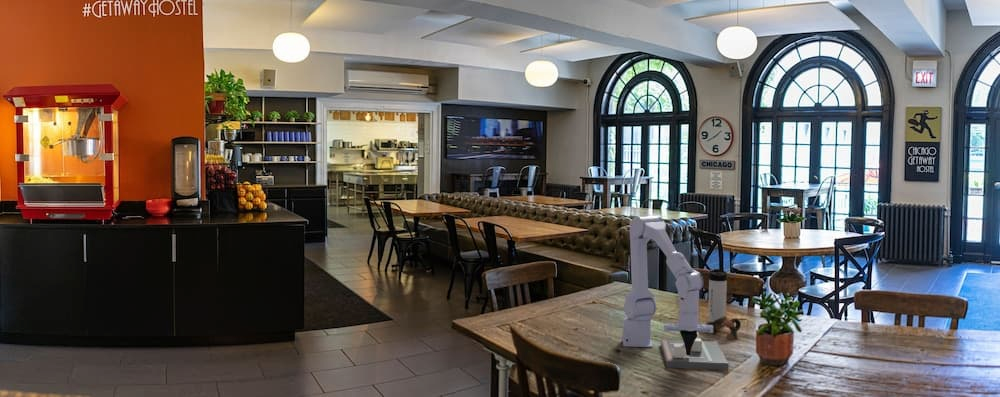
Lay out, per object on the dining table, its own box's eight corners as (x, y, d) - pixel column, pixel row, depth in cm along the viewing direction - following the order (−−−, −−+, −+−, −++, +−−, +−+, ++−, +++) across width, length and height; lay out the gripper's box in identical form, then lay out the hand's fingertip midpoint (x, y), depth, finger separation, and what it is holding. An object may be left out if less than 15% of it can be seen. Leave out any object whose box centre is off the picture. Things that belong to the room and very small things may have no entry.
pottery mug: (724, 344, 239) (713, 321, 241) (710, 348, 248) (699, 327, 250) (751, 331, 243) (740, 309, 245) (736, 336, 252) (725, 314, 254)
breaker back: (689, 344, 229) (689, 334, 229) (687, 341, 232) (688, 331, 232) (698, 345, 229) (698, 334, 229) (697, 342, 232) (697, 332, 232)
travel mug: (723, 321, 265) (724, 269, 264) (727, 326, 259) (728, 272, 257) (706, 320, 266) (707, 268, 264) (709, 325, 260) (711, 272, 258)
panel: (667, 367, 214) (667, 360, 214) (660, 345, 236) (660, 339, 236) (728, 369, 212) (728, 362, 212) (716, 347, 234) (716, 341, 233)
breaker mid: (691, 351, 222) (692, 340, 222) (690, 348, 225) (690, 338, 225) (701, 351, 222) (701, 341, 222) (700, 348, 225) (700, 338, 225)
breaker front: (674, 357, 216) (674, 346, 216) (673, 354, 219) (673, 343, 219) (684, 358, 216) (684, 347, 216) (683, 354, 219) (683, 344, 219)
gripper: (665, 313, 213) (665, 357, 214) (715, 315, 211) (714, 359, 212) (663, 308, 220) (662, 350, 221) (711, 309, 218) (710, 352, 219)
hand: (687, 354), depth 217 cm, fingers closed
